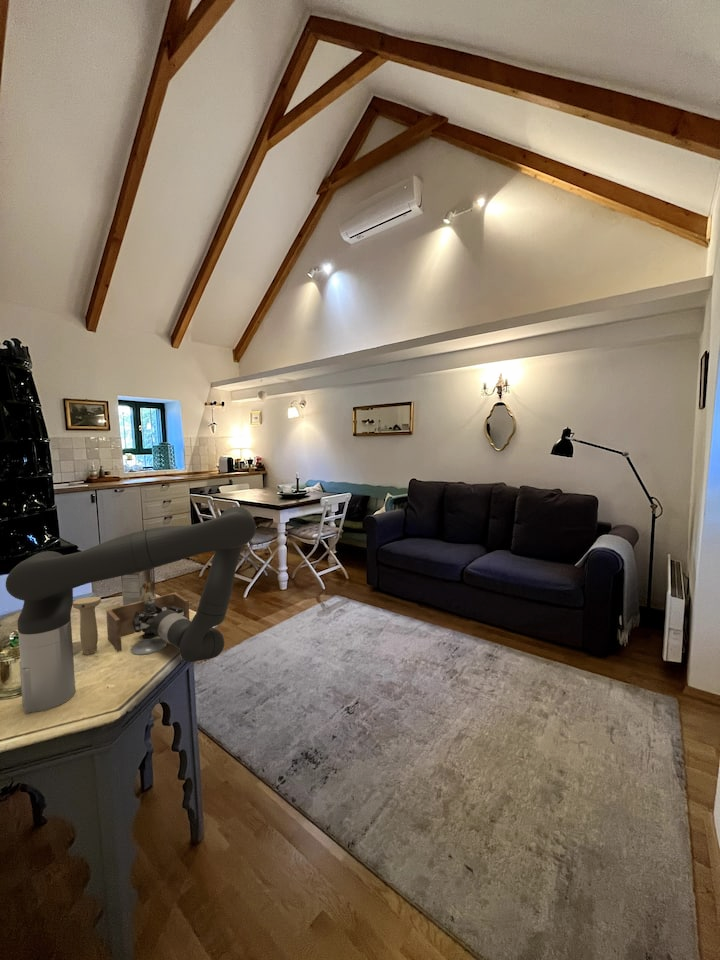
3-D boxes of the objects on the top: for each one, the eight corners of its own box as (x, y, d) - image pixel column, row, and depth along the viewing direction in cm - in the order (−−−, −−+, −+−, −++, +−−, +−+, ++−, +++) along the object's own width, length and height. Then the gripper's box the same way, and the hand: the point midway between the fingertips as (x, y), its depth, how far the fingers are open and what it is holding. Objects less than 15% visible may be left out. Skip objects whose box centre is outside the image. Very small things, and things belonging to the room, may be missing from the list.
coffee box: (139, 609, 139) (136, 565, 138) (156, 609, 139) (154, 564, 138) (123, 620, 130) (120, 573, 129) (142, 620, 130) (139, 573, 129)
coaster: (136, 658, 106) (136, 657, 106) (126, 647, 112) (126, 645, 112) (171, 646, 112) (171, 645, 112) (160, 636, 118) (160, 635, 118)
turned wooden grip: (80, 649, 111) (77, 598, 109) (106, 646, 112) (103, 595, 111) (72, 658, 106) (69, 604, 105) (99, 655, 107) (96, 602, 106)
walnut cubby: (117, 651, 109) (115, 620, 109) (107, 639, 117) (106, 609, 116) (189, 628, 124) (188, 600, 123) (177, 618, 131) (175, 592, 130)
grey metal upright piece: (136, 636, 118) (134, 598, 117) (154, 629, 123) (152, 591, 122) (148, 641, 115) (146, 601, 114) (166, 632, 120) (164, 595, 120)
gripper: (196, 606, 115) (169, 593, 126) (144, 622, 104) (120, 607, 115) (197, 630, 115) (170, 615, 126) (145, 650, 104) (121, 631, 115)
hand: (146, 611), depth 120 cm, fingers open, 5 cm apart
